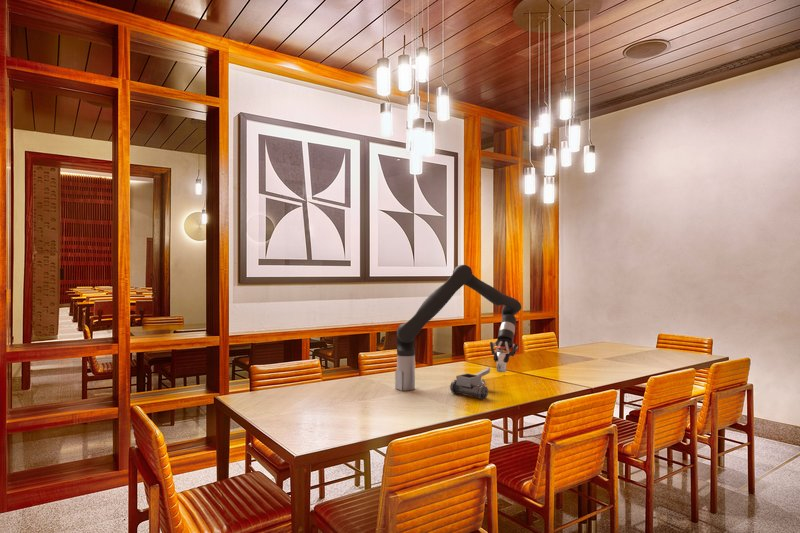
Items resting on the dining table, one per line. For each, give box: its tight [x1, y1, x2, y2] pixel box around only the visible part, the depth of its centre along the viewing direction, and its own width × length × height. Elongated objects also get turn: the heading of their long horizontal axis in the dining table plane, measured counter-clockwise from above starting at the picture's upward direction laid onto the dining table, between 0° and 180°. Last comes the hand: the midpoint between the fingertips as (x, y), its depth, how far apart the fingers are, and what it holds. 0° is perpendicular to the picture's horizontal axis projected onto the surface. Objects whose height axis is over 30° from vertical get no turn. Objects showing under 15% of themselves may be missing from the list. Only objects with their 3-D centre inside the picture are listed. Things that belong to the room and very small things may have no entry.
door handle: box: [474, 366, 491, 386], centre depth 257 cm, size 18×8×20 cm
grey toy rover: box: [449, 373, 489, 401], centre depth 237 cm, size 18×8×10 cm, turn 43°
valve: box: [496, 346, 507, 373], centre depth 236 cm, size 4×4×12 cm
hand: (500, 361), depth 234 cm, fingers closed on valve, 4 cm apart
